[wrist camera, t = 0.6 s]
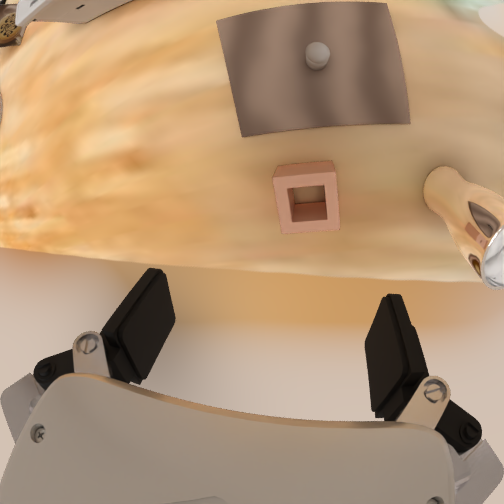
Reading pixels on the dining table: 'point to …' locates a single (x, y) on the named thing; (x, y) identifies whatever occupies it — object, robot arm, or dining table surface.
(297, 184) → the bead
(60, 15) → the stereo radio cassette player
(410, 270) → the dining table surface
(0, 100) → the flag stand
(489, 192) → the beer glass
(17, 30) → the coffee box
